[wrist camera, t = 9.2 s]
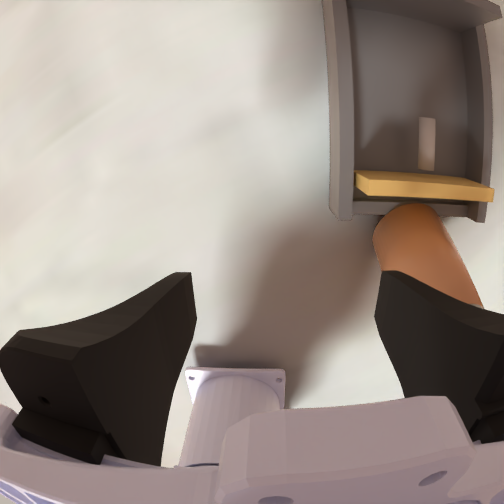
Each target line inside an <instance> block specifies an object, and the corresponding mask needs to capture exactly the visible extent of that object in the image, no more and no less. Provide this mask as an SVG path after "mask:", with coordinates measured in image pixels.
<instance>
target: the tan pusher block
mask: <svg viewBox="0 0 504 504" xmlns="http://www.w3.org/2000/svg"><path fill="white" fill-rule="evenodd" d="M434 161H435V119H433V118H425V117H419V153H418V169H422V170H428V171H434ZM353 185H354V186H356V187H357V188H358V189H360V190H361V191H363V192H364V193H365V194H367V195H368V196H399V197H422V198H440V199H456V200H470V201H482V202H493V196H494V189H493V188H490V187H487V186H485V185H482V184H480V183H477V182H474V181H471V180H469V179H466V178H462V177H453V176H442V175H431V174H419V173H405V172H389V171H369V170H354V182H353Z"/></svg>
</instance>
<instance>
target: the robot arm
mask: <svg viewBox="0 0 504 504" xmlns="http://www.w3.org/2000/svg"><path fill="white" fill-rule="evenodd" d="M374 317H375V321H376V325H377V328H378V331H379V335H380V338H381V340H382V342H383V344H384V347H385V349H386V351H387V353H388V356H389V358H390V360H391V362H392V364H393V367H394V369H395V371H396V374H397V376H398V378H399V381H400V384H401V386H402V389H403V393H404V397H405V398H403V399H397V400H390V401H383V402H375V403H367V404H358V405H348V406H336V407H321V408H300V409H284V400H285V377H286V374H285V371H284V370H283V369H239V368H208V367H187V368H186V370H185V376H186V380H187V384H188V388H189V392H190V396H191V400H192V404H193V408H192V412H191V416H190V420H189V424H188V428H187V432H186V436H185V441H184V445H183V449H182V453H181V457H180V461H179V465H178V466H177V465H176V466H174V468H166V467H161V458H162V451H163V444H164V438H165V431H166V426H167V421H168V415H169V411H170V406H171V402H172V397H173V393H174V389H175V386H176V383H177V380H178V377H179V375H180V372H181V369H182V367H183V364H184V361H185V359H186V356H187V353H188V351H189V348H190V345H191V342H192V340H193V335H194V331H195V326H196V321H197V315H196V308H195V300H194V292H193V285H192V276H191V272H175V273H173V274H171V275H169V276H167V277H165V278H164V279H162V280H160V281H159V282H157V283H155V284H154V285H152V286H150V287H149V288H147V289H146V290H144V291H142V292H140V293H139V294H137V295H135V296H133V297H131V298H130V299H128V300H126V301H124V302H122V303H120V304H118V305H116V306H114V307H112V308H109V309H107V310H105V311H102V312H100V313H97V314H94V315H91V316H88V317H85V318H82V319H79V320H76V321H72V322H68V323H64V324H59V325H55V326H49V327H42V328H34V329H26V330H19V331H18V332H17V333H16V334H15V335H14V336H13V337H12V338H11V339H10V340H9V341H8V342H7V343H6V344H5V345H4V346H3V347H2V349H1V350H0V369H1V372H2V374H3V376H4V378H5V380H6V382H7V383H8V385H9V387H10V388H11V390H12V392H13V393H14V395H15V397H16V398H17V400H18V401H19V403H20V404H21V406H22V407H23V408H22V409H21V411H20V412H19V414H17V413H16V412H15V411H14V410H12V409H11V408H9V407H7V406H5V405H3V404H0V494H2V495H3V496H5V497H6V498H8V499H10V500H11V501H13V502H15V503H16V504H504V314H500V313H496V312H492V311H488V310H485V309H482V308H479V307H476V306H473V305H470V304H468V303H465V302H462V301H460V300H458V299H455V298H453V297H451V296H449V295H447V294H445V293H443V292H441V291H439V290H437V289H435V288H433V287H431V286H429V285H427V284H425V283H423V282H421V281H419V280H417V279H415V278H414V277H412V276H410V275H407V274H405V273H403V272H400V271H397V270H387V271H382V274H381V281H380V287H379V293H378V299H377V304H376V310H375V315H374ZM191 376H193V377H191ZM277 378H281V379H277Z"/></svg>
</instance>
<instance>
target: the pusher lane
mask: <svg viewBox="0 0 504 504" xmlns="http://www.w3.org/2000/svg"><path fill="white" fill-rule="evenodd" d="M322 5H323V15H324V26H325V38H326V52H327V68H328V89H329V123H330V188H329V208H330V210H331V211H332V212H333V214H334V215H335V217H336V218H337V219H338V220H352V214H367V215H386V214H388V213H389V212H390V211H392V210H394V209H396V208H398V207H400V206H403V205H406V204H412V203H420V204H425V205H428V206H430V207H431V208H433V209H434V210H435V211H436V212H437V214H438V216H453V217H468V218H470V219H471V220H473V221H475V222H479V223H485V217H486V210H487V203H488V202H482V201H470V200H456V199H440V198H422V197H399V196H368V195H367V194H365V193H364V192H363V191H361V190H360V189H358V188H357V187H356V186H354V185H353V182H354V170H369V171H389V172H405V173H419V174H431V175H442V176H453V177H462V178H466V179H469V180H471V181H474V182H477V183H480V184H482V185H485V186H487V187H489V185H490V175H491V161H492V137H493V112H492V88H491V75H490V65H489V56H488V49H487V42H486V36H485V30H484V24H485V23H487V22H490V21H493V20H496V19H499V18H502V14H501V10H500V6H498V5H496V4H494V3H492V2H490V1H488V0H322ZM419 117H425V118H433V119H435V161H434V171H428V170H422V169H418V153H419Z"/></svg>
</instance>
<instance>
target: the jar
mask: <svg viewBox="0 0 504 504" xmlns="http://www.w3.org/2000/svg"><path fill="white" fill-rule="evenodd" d="M372 242H373V246H374V249H375V252H376V255H377V258H378V262H379V265H380V268H381V271H387V270H397V271H400V272H403V273H405V274H407V275H410V276H412V277H414V278H415V279H417V280H419V281H421V282H423V283H425V284H427V285H429V286H431V287H433V288H435V289H437V290H439V291H441V292H443V293H445V294H447V295H449V296H451V297H453V298H455V299H458V300H460V301H462V302H465V303H468V304H470V305H473V306H476V307H479V308H482V309H484V307H483V305H482V302H481V300H480V298H479V295H478V293H477V291H476V288H475V286H474V284H473V282H472V279H471V277H470V275H469V273H468V271H467V269H466V267H465V265H464V262H463V260H462V258H461V256H460V254H459V252H458V250H457V249H456V247H455V245H454V243H453V241H452V239H451V237H450V235H449V233H448V232H447V230H446V228H445V226H444V224H443V223H442V221H441V219H440V217H439V216H438V214H437V212H436V211H435V210H434V209H433V208H431V207H430V206H428V205H425V204H420V203H412V204H406V205H403V206H400V207H398V208H396V209H394V210H392V211H390V212H389V213H388V214H386V215H385V216H384V217H383V218H382V219H381V220H380V221H379V223H378V224H377V226H376V228H375V230H374V233H373V238H372Z"/></svg>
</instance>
